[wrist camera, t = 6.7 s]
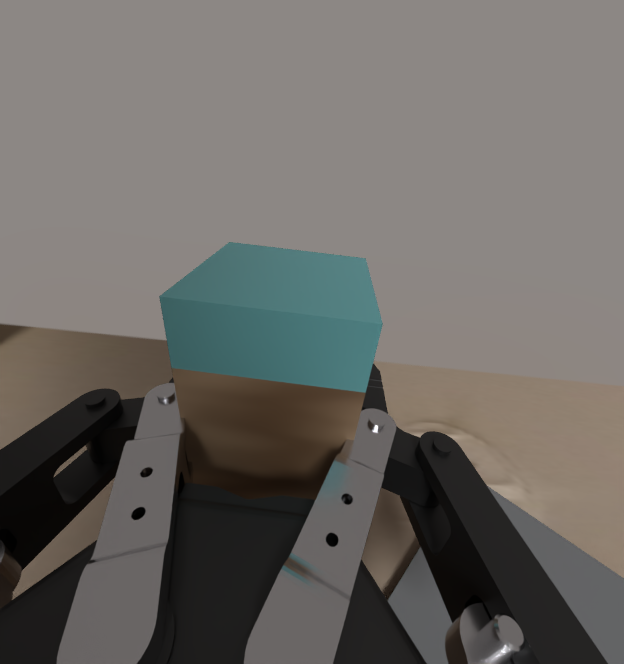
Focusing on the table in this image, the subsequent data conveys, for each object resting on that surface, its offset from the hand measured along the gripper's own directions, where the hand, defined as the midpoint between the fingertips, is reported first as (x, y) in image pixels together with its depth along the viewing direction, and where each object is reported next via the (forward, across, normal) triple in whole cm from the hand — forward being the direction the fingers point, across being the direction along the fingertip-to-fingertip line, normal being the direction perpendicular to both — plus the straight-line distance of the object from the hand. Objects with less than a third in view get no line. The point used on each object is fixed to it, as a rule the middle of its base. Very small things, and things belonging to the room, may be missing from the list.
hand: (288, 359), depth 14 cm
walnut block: (-3, 0, +7) cm, 7 cm away
